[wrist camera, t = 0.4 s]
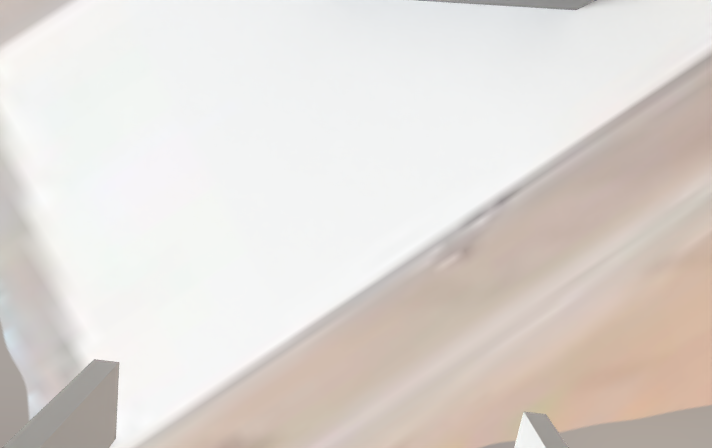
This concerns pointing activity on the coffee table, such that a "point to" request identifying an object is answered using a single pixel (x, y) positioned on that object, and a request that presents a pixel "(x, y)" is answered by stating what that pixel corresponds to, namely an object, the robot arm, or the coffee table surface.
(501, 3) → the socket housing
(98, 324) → the coffee table surface
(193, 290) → the coffee table surface
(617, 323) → the coffee table surface
